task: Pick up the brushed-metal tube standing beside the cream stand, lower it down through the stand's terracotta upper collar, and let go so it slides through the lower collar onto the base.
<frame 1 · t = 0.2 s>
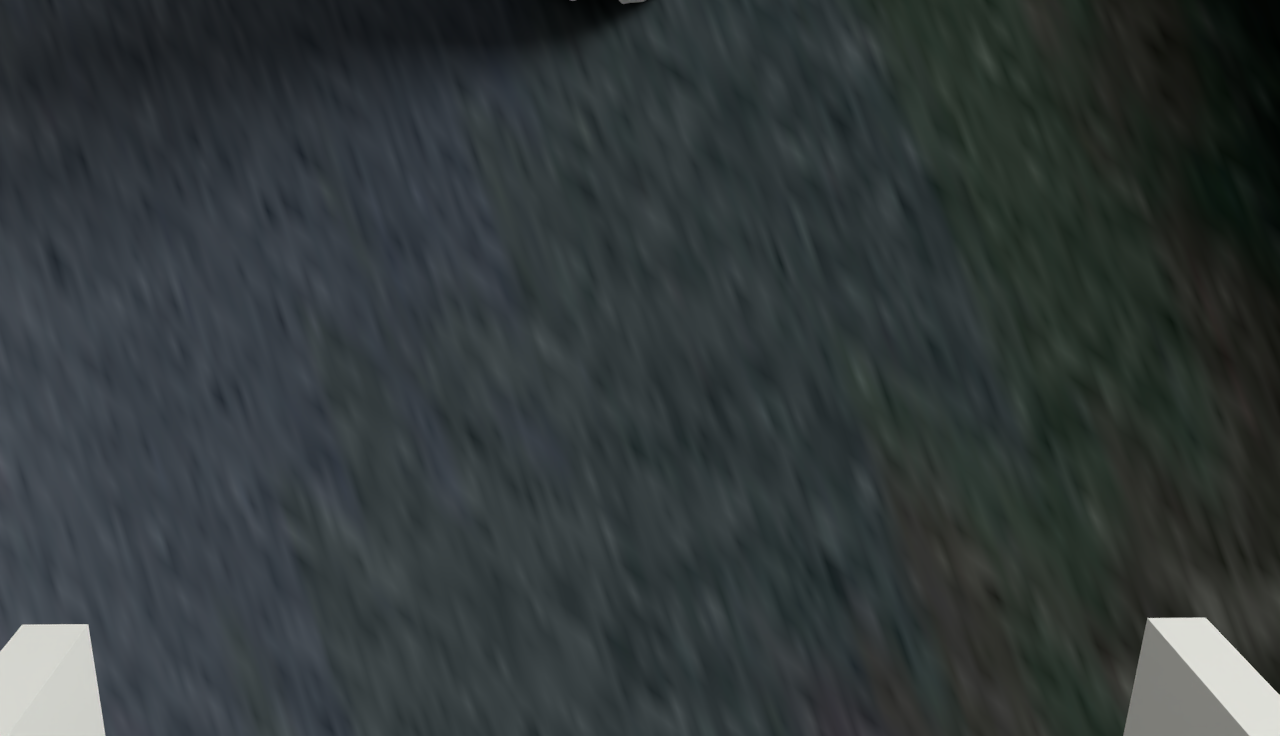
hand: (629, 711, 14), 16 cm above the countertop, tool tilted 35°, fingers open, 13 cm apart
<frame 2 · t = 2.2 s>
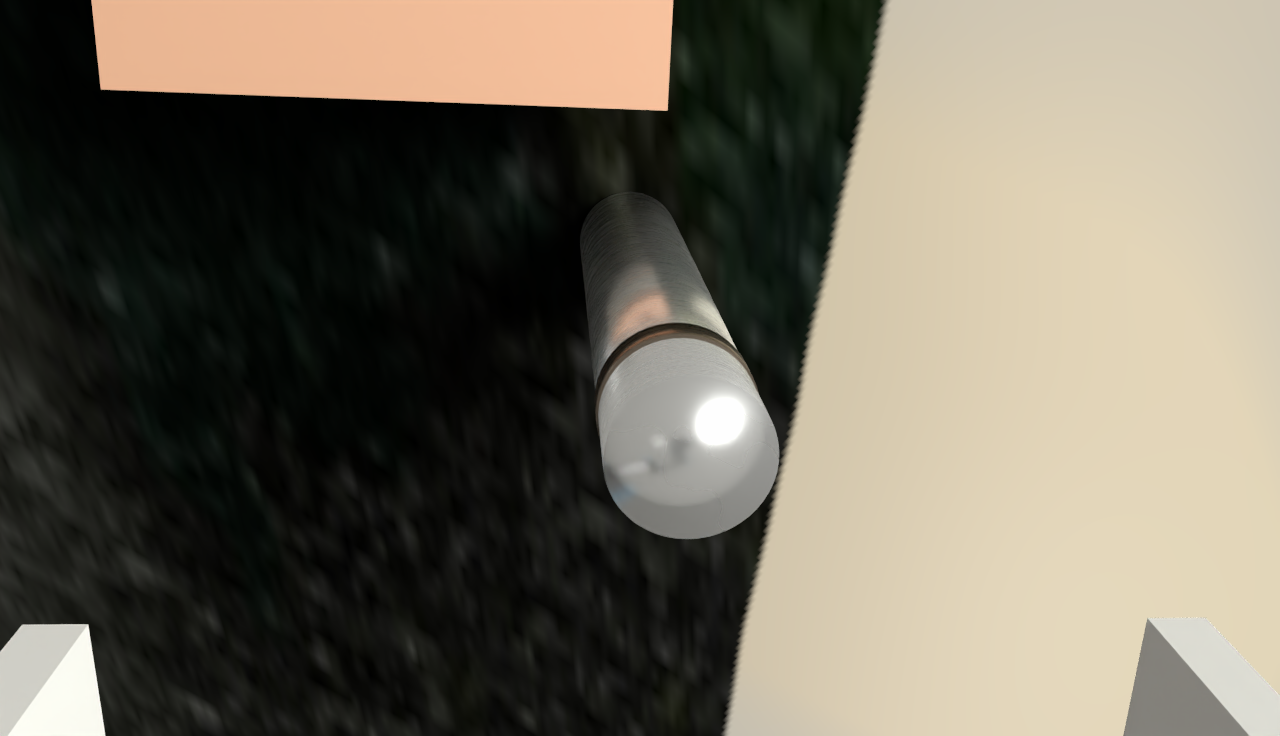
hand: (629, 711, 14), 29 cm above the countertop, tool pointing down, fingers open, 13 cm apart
air tube: (628, 240, 42), on the countertop
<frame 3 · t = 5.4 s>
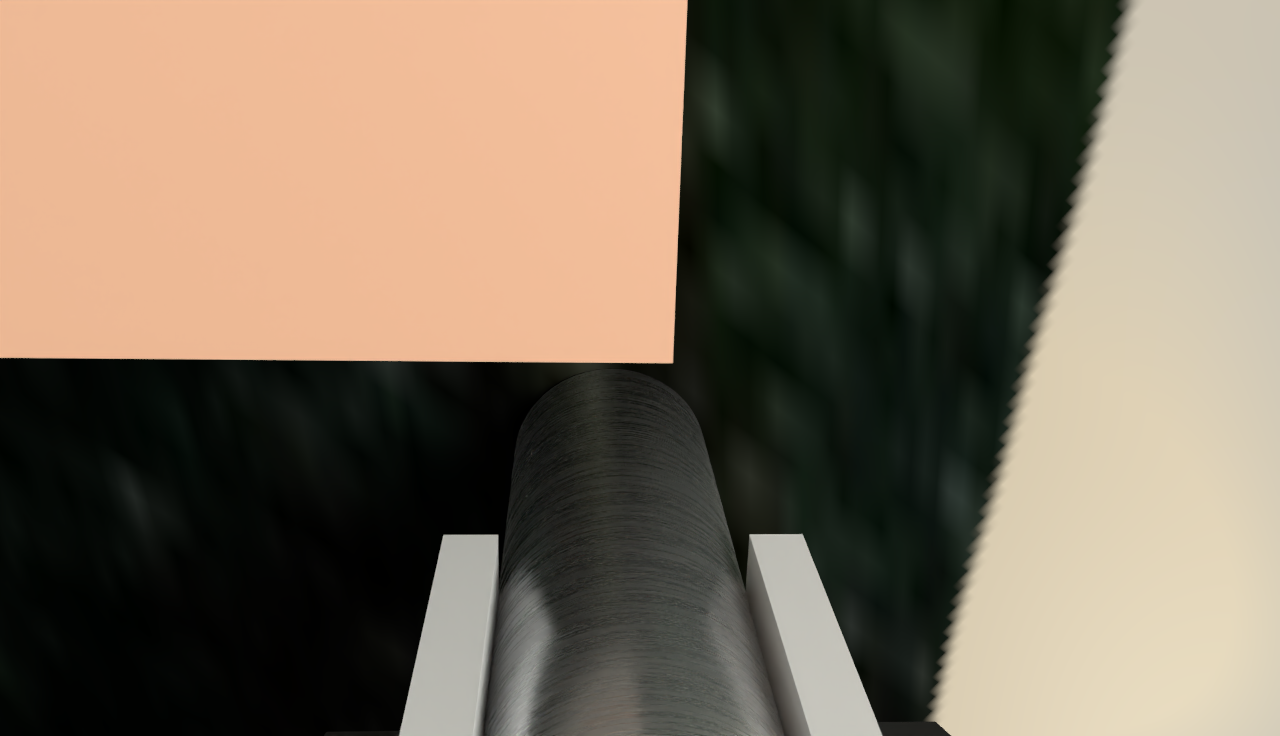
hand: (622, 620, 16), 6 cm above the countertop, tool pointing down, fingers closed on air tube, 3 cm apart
air tube: (610, 458, 22), on the countertop, touching gripper
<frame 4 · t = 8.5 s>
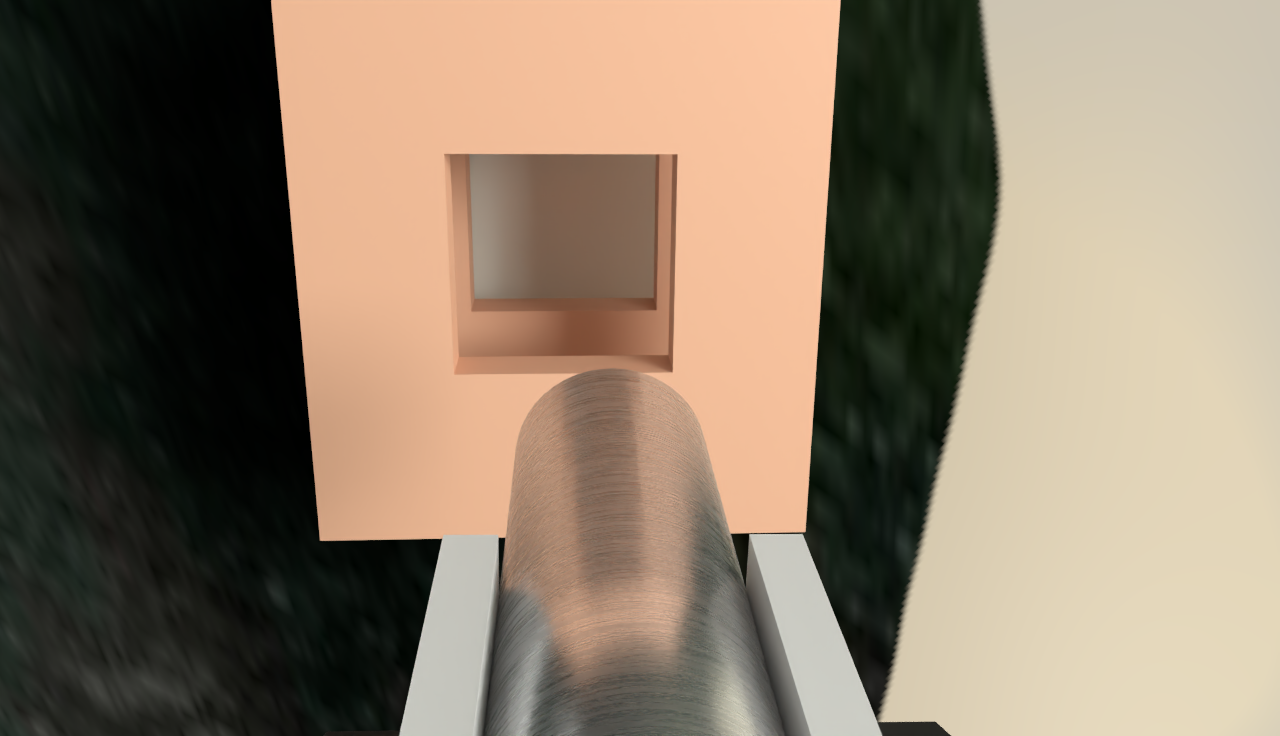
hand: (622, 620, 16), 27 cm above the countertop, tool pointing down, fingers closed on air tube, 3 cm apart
collar stand: (563, 187, 41), on the countertop
air tube: (611, 457, 22), point 21 cm above the countertop, touching gripper
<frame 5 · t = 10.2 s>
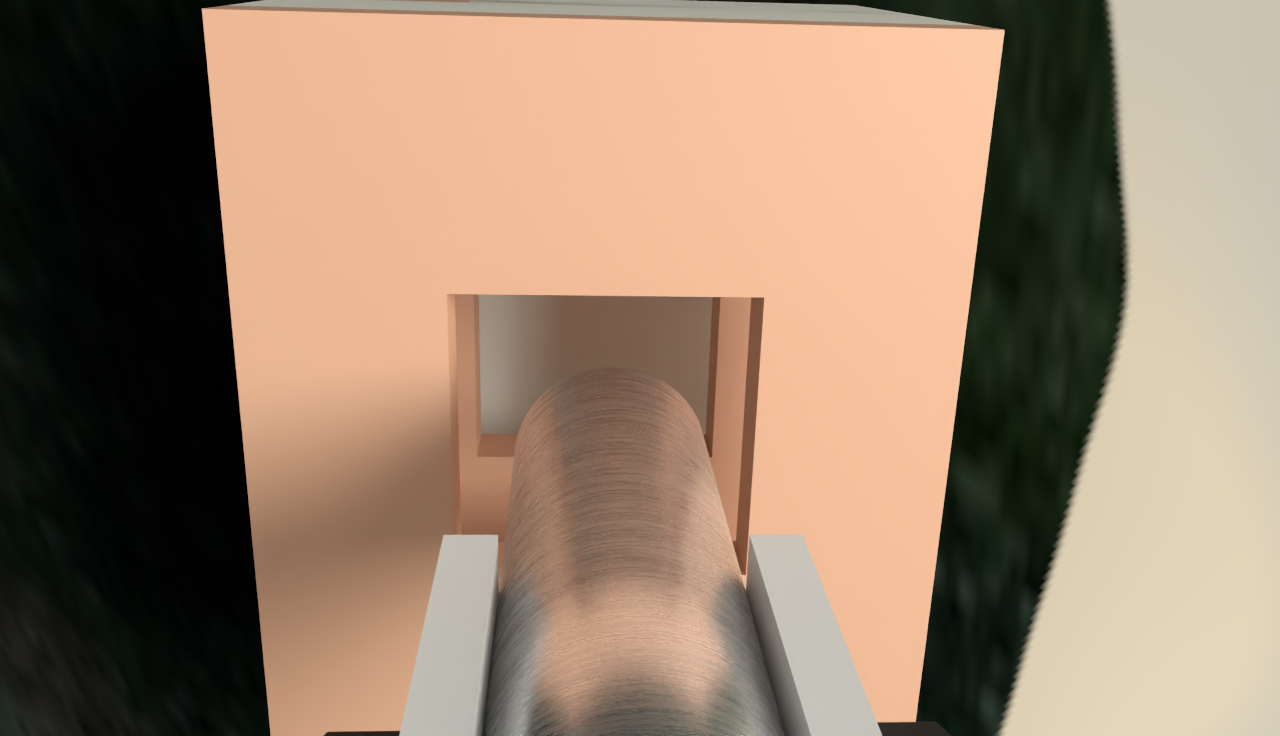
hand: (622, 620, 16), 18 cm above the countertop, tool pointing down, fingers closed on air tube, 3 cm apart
collar stand: (592, 286, 34), on the countertop
air tube: (610, 456, 22), point 13 cm above the countertop, touching gripper
when the fingers open (14 cm above the countertop, at t = 11.6 s): air tube drops 7 cm, resting on collar stand.
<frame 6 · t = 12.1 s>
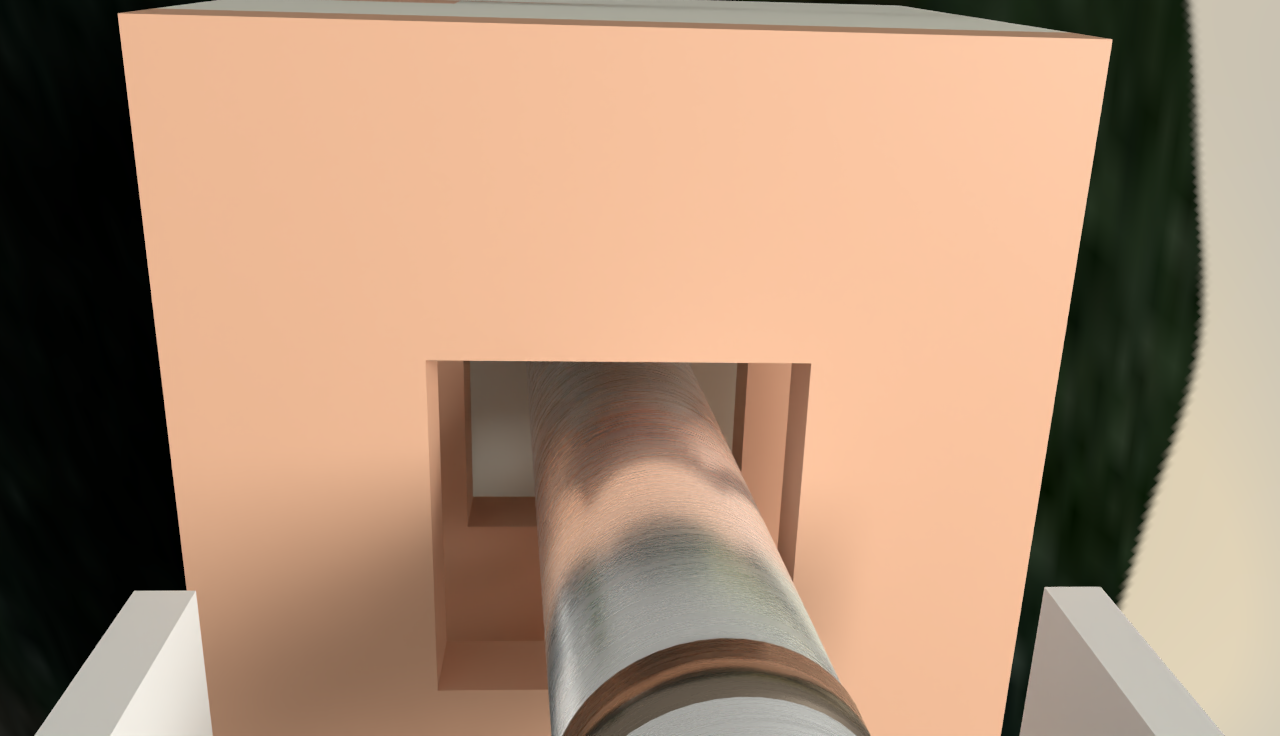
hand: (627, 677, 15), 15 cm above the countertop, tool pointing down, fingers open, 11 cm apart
collar stand: (600, 322, 30), on the countertop
air tube: (596, 336, 29), point 1 cm above the countertop, touching collar stand
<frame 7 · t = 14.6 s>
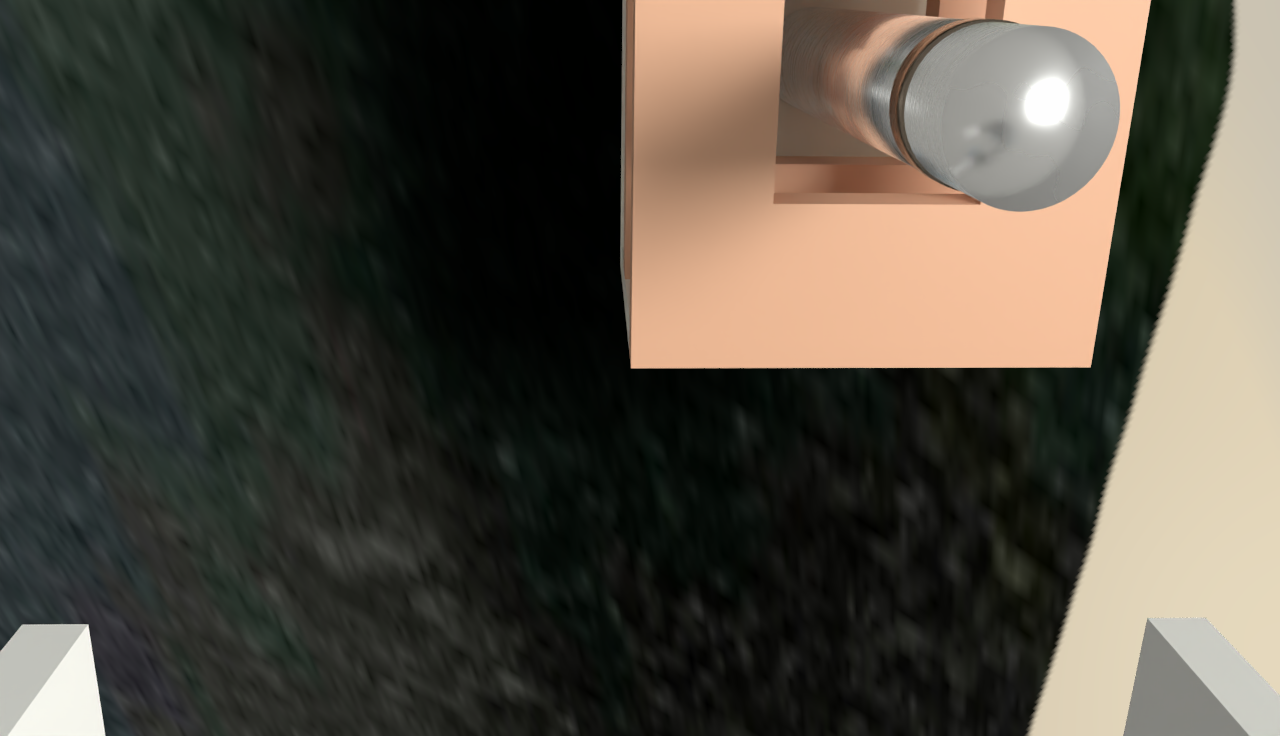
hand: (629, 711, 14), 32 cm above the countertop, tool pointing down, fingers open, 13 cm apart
collar stand: (810, 55, 43), on the countertop
air tube: (813, 59, 42), point 1 cm above the countertop, touching collar stand
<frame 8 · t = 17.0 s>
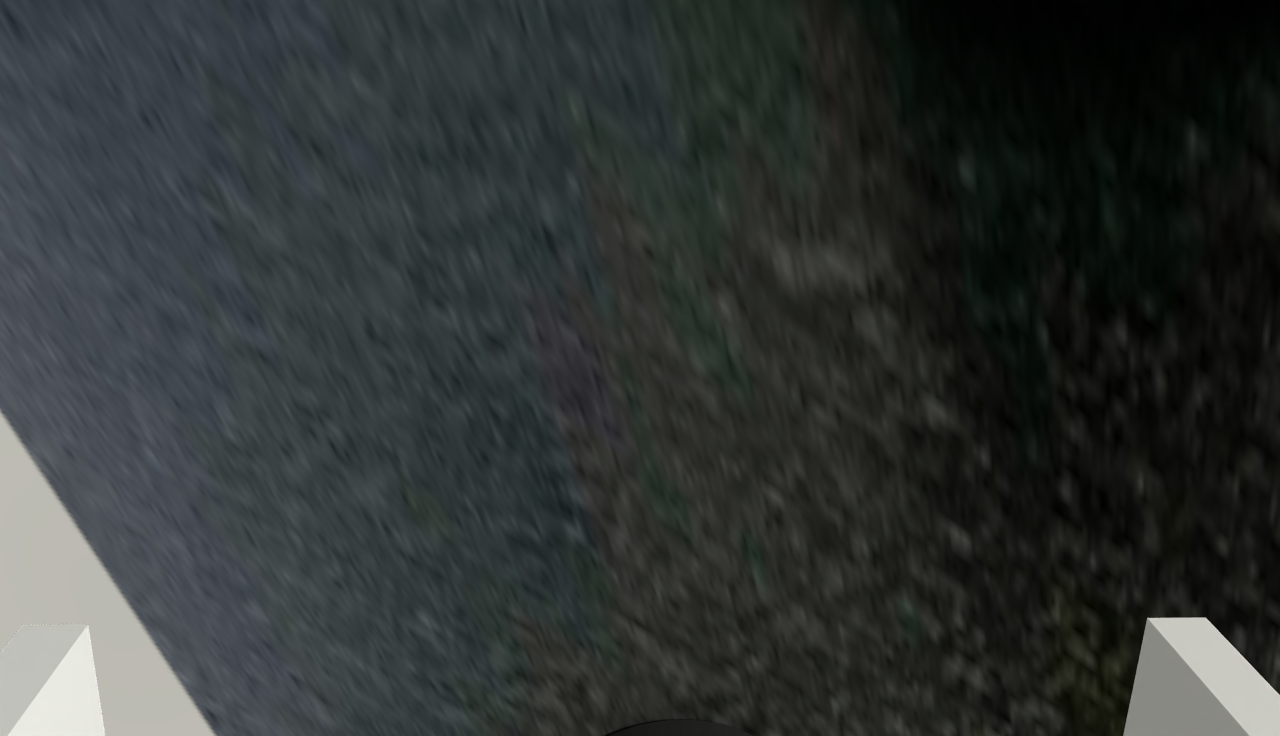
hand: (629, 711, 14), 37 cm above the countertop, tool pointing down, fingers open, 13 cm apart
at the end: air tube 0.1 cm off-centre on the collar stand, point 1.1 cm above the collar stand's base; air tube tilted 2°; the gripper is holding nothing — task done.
